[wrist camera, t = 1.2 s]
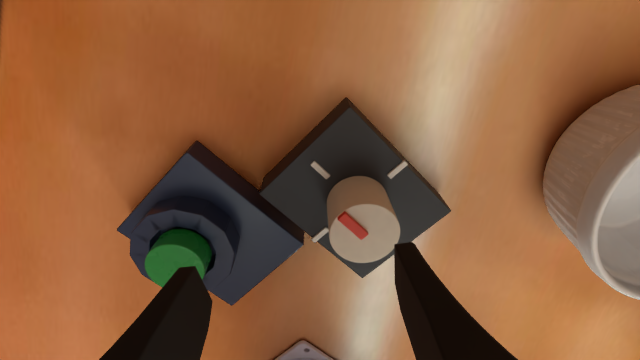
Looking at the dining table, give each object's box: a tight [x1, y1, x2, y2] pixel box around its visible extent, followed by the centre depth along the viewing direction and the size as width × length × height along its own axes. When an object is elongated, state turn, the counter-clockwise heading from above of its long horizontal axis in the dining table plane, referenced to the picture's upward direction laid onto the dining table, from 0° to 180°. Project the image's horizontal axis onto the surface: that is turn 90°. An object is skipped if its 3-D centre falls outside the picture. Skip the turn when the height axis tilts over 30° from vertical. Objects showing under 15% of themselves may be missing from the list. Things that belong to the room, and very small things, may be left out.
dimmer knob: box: [327, 176, 400, 263], centre depth 21 cm, size 4×4×4 cm
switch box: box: [117, 141, 304, 305], centre depth 24 cm, size 10×8×4 cm
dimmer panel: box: [259, 98, 451, 278], centre depth 24 cm, size 10×8×3 cm
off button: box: [145, 229, 212, 287], centre depth 22 cm, size 4×4×2 cm
